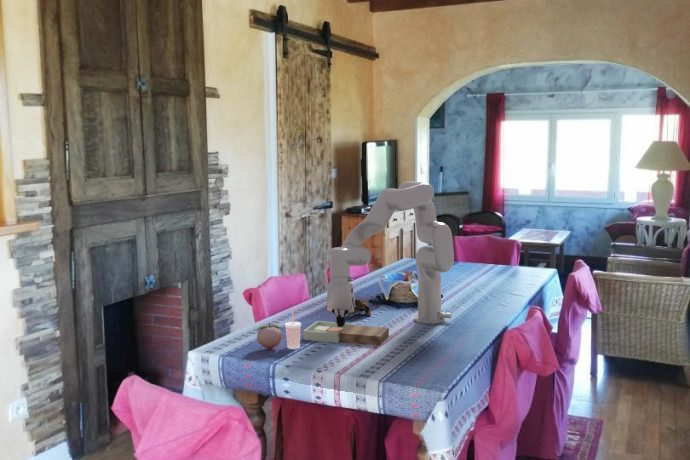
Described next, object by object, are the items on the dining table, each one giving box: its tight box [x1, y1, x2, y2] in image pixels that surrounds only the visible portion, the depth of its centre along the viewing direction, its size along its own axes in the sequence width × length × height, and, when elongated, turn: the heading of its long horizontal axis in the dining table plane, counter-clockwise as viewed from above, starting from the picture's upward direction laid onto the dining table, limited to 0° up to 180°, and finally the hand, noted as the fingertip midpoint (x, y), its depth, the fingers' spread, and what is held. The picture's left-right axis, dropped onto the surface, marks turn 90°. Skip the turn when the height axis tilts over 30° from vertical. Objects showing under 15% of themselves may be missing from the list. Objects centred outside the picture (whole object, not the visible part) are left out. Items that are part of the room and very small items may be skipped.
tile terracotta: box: [327, 327, 344, 334], centre depth 263 cm, size 5×5×2 cm
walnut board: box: [338, 324, 390, 347], centre depth 260 cm, size 16×12×4 cm
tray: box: [302, 320, 352, 344], centre depth 265 cm, size 14×15×4 cm
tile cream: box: [314, 326, 330, 332], centre depth 265 cm, size 5×5×2 cm
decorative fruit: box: [256, 322, 283, 350], centre depth 248 cm, size 9×8×10 cm
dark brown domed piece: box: [347, 298, 372, 317], centre depth 294 cm, size 12×10×8 cm
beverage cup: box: [284, 309, 302, 350], centre depth 250 cm, size 6×6×14 cm
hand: (340, 326), depth 262 cm, fingers closed
